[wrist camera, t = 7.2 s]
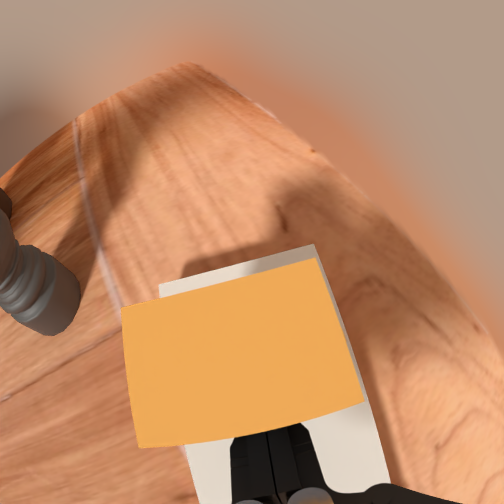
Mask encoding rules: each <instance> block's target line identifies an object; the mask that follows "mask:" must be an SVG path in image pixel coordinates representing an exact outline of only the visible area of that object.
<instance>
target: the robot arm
mask: <svg viewBox="0 0 504 504" xmlns="http://www.w3.org/2000/svg"><path fill="white" fill-rule="evenodd" d="M230 468H231V470H230V471H231V494H232V503H231V504H462V503H457V502H453V501H448V500H444V499H440V498H437V497H433V496H429V495H426V494H422V493H419V492H416V491H412V490H409V489H406V488H403V487H400V486H397V485H394V484H391V483H380V484H376V485H373V486H371V487H370V488H368V489H367V490H365V491H364V492H358V493H340V492H336V491H334V490H332V489H331V488H329V487H328V486H327V484H326V482H325V480H324V477H323V474H322V471H321V468H320V464H319V461H318V458H317V455H316V452H315V449H314V446H313V443H312V439H311V436H310V433H309V430H308V429H307V428H306V427H305V426H304V425H303V424H302V423H297V424H293V425H289V426H285V427H281V428H277V429H273V430H269V431H264V432H260V433H255V434H250V435H245V436H240V437H235V438H234V440H233V442H232V444H231V446H230Z"/></svg>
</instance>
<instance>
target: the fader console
mask: <svg viewBox="0 0 504 504" xmlns="http://www.w3.org/2000/svg"><path fill="white" fill-rule="evenodd" d="M315 257H316V260H317V263H318V265H319V268H320V270H321V273H322V276H323V278H324V281H325V284H326V287H327V289H328V292H329V295H330V298H331V300H332V303H333V306H334V309H335V312H336V314H337V317H338V320H339V323H340V326H341V329H342V332H343V335H344V338H345V341H346V344H347V347H348V350H349V353H350V356H351V359H352V362H353V365H354V368H355V371H356V374H357V377H358V381H359V384H360V387H361V390H362V394H363V397H364V400H365V402H362V403H359V404H356V405H354V406H351V407H348V408H345V409H342V410H339V411H336V412H333V413H330V414H327V415H324V416H321V417H318V418H314V419H311V420H307V421H304V422H300V423H302V424H303V425H304V426H305V427H306V428H307V429H308V430H309V433H310V436H311V439H312V443H313V446H314V449H315V452H316V455H317V458H318V461H319V464H320V468H321V471H322V474H323V477H324V480H325V482H326V484H327V486H328V487H329V488H331V489H332V490H334V491H336V492H340V493H358V492H364V491H365V490H367V489H368V488H370V487H371V486H373V485H376V484H380V483H391V482H390V477H389V473H388V469H387V465H386V461H385V457H384V454H383V450H382V446H381V442H380V439H379V435H378V431H377V428H376V424H375V421H374V417H373V414H372V410H371V407H370V403H369V400H368V397H367V393H366V390H365V387H364V384H363V381H362V377H361V374H360V371H359V368H358V365H357V362H356V359H355V356H354V353H353V350H352V347H351V344H350V341H349V338H348V335H347V332H346V329H345V326H344V323H343V320H342V318H341V315H340V312H339V309H338V306H337V304H336V301H335V298H334V295H333V293H332V290H331V287H330V285H329V282H328V279H327V277H326V274H325V271H324V269H323V266H322V263H321V261H320V258H319V256H318V253H317V251H316V248H315V246H314V244H310V245H307V246H303V247H299V248H295V249H292V250H288V251H284V252H280V253H277V254H273V255H269V256H266V257H262V258H258V259H254V260H250V261H247V262H243V263H239V264H235V265H232V266H228V267H224V268H220V269H216V270H213V271H209V272H205V273H201V274H197V275H194V276H190V277H186V278H182V279H178V280H174V281H171V282H167V283H163V284H159V293H160V298H163V297H167V296H171V295H175V294H179V293H183V292H187V291H191V290H194V289H198V288H202V287H206V286H210V285H214V284H218V283H222V282H226V281H229V280H233V279H237V278H241V277H245V276H248V275H252V274H256V273H260V272H263V271H267V270H271V269H275V268H278V267H282V266H286V265H289V264H293V263H297V262H300V261H304V260H308V259H311V258H315ZM233 440H234V438H229V439H223V440H217V441H210V442H203V443H195V444H187V445H185V450H186V454H187V458H188V462H189V466H190V470H191V474H192V477H193V481H194V485H195V488H196V492H197V495H198V499H199V502H200V504H231V503H232V494H231V471H230V470H231V468H230V446H231V444H232V442H233Z"/></svg>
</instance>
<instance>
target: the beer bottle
mask: <svg viewBox="0 0 504 504" xmlns="http://www.w3.org/2000/svg"><path fill="white" fill-rule="evenodd" d="M11 208H12V202H11V200H10V198H9V197H8V196H7V195H6V193H5V192H4V191H3V190H2V189H1V188H0V209H1V210H2V211H3V212H4V213H5V214H6V215H7V217H8V219H10V217H11Z"/></svg>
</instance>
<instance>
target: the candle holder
mask: <svg viewBox="0 0 504 504" xmlns="http://www.w3.org/2000/svg"><path fill="white" fill-rule="evenodd" d="M80 295H81V294H80V287H79V282H78V280H77V279H76V277H75V275H74V274H73V273H72V272H70V271H69V270H68V269H67V268H66V267H64V266H63V265H62V264H61V263H60V262H58V261H57V260H56V259H55V258H54V257H52V256H51V255H49V254H47V253H45V252H41V250H40V249H38V248H36V247H35V246H33V245H26V246H25V245H21V246H19V243H18V241H17V240H16V239H15V237H14V234H13V231H12V227H11V224H10V221H9V219H8V217H7V215H6V214H5V213H4V212H3V211H2V210H1V209H0V306H1V307H2V308H3V309H4V310H5V311H6V312H7V313H10V314H11V316H12V317H13V318H14V319H15V320H17V321H18V322H19V323H21V324H23V325H25V326H27V327H29V328H30V329H32V330H35V331H37V332H39V333H41V334H43V335H48V336H54V335H56V334H58V333H61V332H63V331H64V330H65V329H66V328H67V326H68V325H69V324H70V323H71V322H72V320H73V318H74V316H75V314H76V312H77V310H78V306H79V301H80Z"/></svg>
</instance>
